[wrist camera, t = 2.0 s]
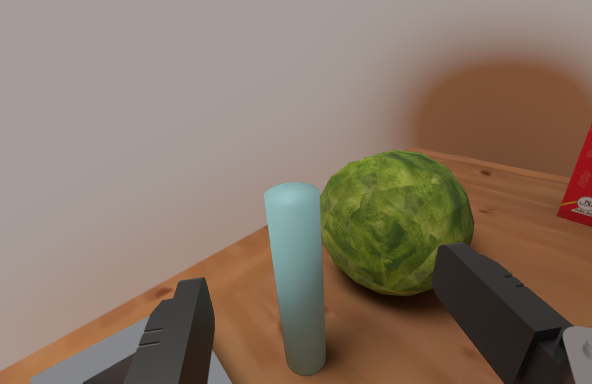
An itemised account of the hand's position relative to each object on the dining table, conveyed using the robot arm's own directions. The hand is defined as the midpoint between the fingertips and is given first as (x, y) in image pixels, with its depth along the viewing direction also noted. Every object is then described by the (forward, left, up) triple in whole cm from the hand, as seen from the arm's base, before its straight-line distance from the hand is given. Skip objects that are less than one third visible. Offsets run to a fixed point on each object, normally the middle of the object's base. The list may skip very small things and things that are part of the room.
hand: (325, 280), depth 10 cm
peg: (-6, -10, -20) cm, 23 cm away
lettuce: (-26, -13, -20) cm, 35 cm away
